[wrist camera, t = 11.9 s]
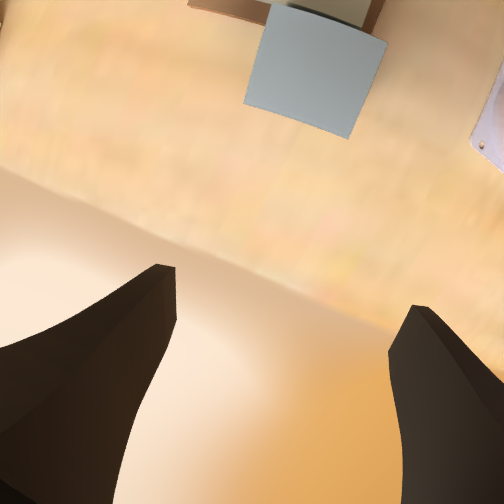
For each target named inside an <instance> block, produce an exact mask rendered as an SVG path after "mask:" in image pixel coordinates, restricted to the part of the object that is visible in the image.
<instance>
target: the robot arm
mask: <svg viewBox="0 0 504 504" xmlns="http://www.w3.org/2000/svg"><path fill="white" fill-rule="evenodd" d="M481 141H483V143H484V147H483V148H482V149H480V148H479V143H480V142H481ZM469 143H470V145H471V146H472V147H473V148H474V149H475V150H476V151H478V152H479V153H480V154H481V155H482V156H484V157H485V158H486V159H487V160H488V161H489V162H491V163H492V164H493V165H494V166H495V167H496V168H498V169H499V170H500V171H501V172H502V173H503V174H504V58H503V60H502V63H501V66H500V69H499V71H498V74H497V76H496V79H495V81H494V84H493V86H492V89H491V91H490V93H489V96H488V98H487V101H486V103H485V105H484V107H483V110H482V112H481V114H480V116H479V118H478V121H477V123H476V125H475V127H474V129H473V131H472V133H471V135H470V138H469ZM176 320H177V316H176V281H175V267H171V266H166V265H160V264H155V265H153V266H152V267H150V268H148V269H147V270H145V271H144V272H142V273H141V274H139V275H138V276H136V277H135V278H133V279H132V280H130V281H129V282H127V283H126V284H124V285H123V286H121V287H120V288H118V289H117V290H115V291H114V292H112V293H111V294H109V295H108V296H106V297H104V298H103V299H101V300H99V301H98V302H96V303H94V304H93V305H91V306H89V307H88V308H86V309H85V310H83V311H81V312H80V313H78V314H76V315H74V316H73V317H71V318H69V319H67V320H65V321H63V322H61V323H59V324H57V325H55V326H53V327H51V328H49V329H47V330H45V331H43V332H41V333H38V334H35V335H33V336H30V337H28V338H26V339H23V340H21V341H18V342H16V343H13V344H10V345H8V346H5V347H2V348H0V504H113V498H114V493H115V488H116V484H117V480H118V475H119V471H120V467H121V463H122V459H123V456H124V452H125V449H126V445H127V442H128V438H129V435H130V432H131V429H132V426H133V423H134V420H135V417H136V414H137V411H138V409H139V407H140V404H141V402H142V400H143V398H144V396H145V393H146V391H147V389H148V387H149V385H150V383H151V381H152V379H153V377H154V374H155V372H156V370H157V368H158V366H159V364H160V362H161V360H162V358H163V356H164V354H165V351H166V349H167V347H168V344H169V341H170V338H171V335H172V332H173V329H174V326H175V323H176ZM388 356H389V370H390V380H391V386H392V390H393V396H394V401H395V406H396V412H397V417H398V423H399V428H400V434H401V442H402V453H403V454H402V455H403V481H402V498H401V504H504V383H503V382H502V381H501V380H499V379H498V378H497V377H496V376H495V375H494V374H493V373H492V372H491V371H490V370H489V369H488V368H487V367H486V366H485V365H484V364H483V363H482V361H481V360H480V359H479V358H478V357H477V356H476V355H475V354H474V353H473V352H472V351H471V350H470V349H469V348H468V347H467V345H466V344H465V343H464V342H463V341H462V340H461V339H460V338H459V337H458V336H457V335H456V334H455V333H454V332H453V330H452V329H451V328H450V327H449V326H448V325H447V324H446V323H445V322H444V321H443V320H442V319H441V318H440V317H439V316H438V315H437V314H436V313H435V312H434V311H432V310H431V309H430V308H429V307H425V306H417V305H412V306H411V308H410V310H409V312H408V314H407V316H406V318H405V320H404V322H403V324H402V326H401V328H400V330H399V332H398V334H397V336H396V338H395V340H394V341H393V344H392V345H391V347H390V349H389V351H388Z"/></svg>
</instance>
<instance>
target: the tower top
mask: <svg viewBox="0 0 504 504" xmlns="http://www.w3.org/2000/svg"><path fill="white" fill-rule="evenodd" d="M256 1H261V2H265V3H269V4H272V3H276V4H280V5H284V6H288V7H291V8H295V9H298V10H302V11H305V12H309V13H312V14H315V15H318V16H321V17H324V18H327V19H330V20H333V21H336V22H339V23H341V24H344V25H347V26H349V27H352V28H354V29H357V30H360V29H361V28H362V25H363V23H364V20H365V17H366V14H367V11H368V9H369V6H370V3H371V0H256Z"/></svg>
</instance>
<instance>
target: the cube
mask: <svg viewBox="0 0 504 504" xmlns="http://www.w3.org/2000/svg"><path fill="white" fill-rule="evenodd" d="M387 45H388V43H387V42H385V41H383V40H381V39H378V38H376V37H374V36H371V35H369V34H367V33H364V32H362V31H359V30H357V29H354V28H352V27H349V26H347V25H344V24H341V23H339V22H336V21H333V20H330V19H327V18H324V17H321V16H318V15H315V14H312V13H309V12H305V11H302V10H298V9H295V8H291V7H288V6H284V5H280V4H276V3H272V5H271V8H270V12H269V15H268V18H267V22H266V25H265V28H264V32H263V35H262V38H261V42H260V45H259V49H258V52H257V56H256V59H255V63H254V66H253V70H252V73H251V77H250V81H249V84H248V88H247V92H246V95H245V99H244V103H243V104H246V105H249V106H253V107H256V108H260V109H263V110H266V111H269V112H273V113H276V114H279V115H282V116H285V117H288V118H291V119H294V120H297V121H300V122H303V123H306V124H308V125H311V126H314V127H317V128H320V129H322V130H325V131H328V132H330V133H333V134H335V135H338V136H341V137H343V138H346V139H349V136H350V134H351V132H352V129H353V127H354V125H355V122H356V120H357V118H358V115H359V113H360V111H361V108H362V106H363V104H364V101H365V99H366V96H367V94H368V92H369V89H370V87H371V84H372V82H373V80H374V77H375V75H376V72H377V70H378V67H379V65H380V62H381V60H382V57H383V55H384V52H385V50H386V47H387Z"/></svg>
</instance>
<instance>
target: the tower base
mask: <svg viewBox="0 0 504 504" xmlns="http://www.w3.org/2000/svg"><path fill="white" fill-rule="evenodd" d="M384 1H385V0H371V3H370V6H369V9H368V11H367V14H366V17H365V20H364V23H363V25H362V28H361V29H360V30H359V31H362V32H364V33H367V34H369V35H371V32H372V30H373V28H374V25H375V23H376V21H377V18H378V16H379V13H380V11H381V9H382V6H383V4H384ZM187 5H188V6H190V7H191V8H196V9H201V10H205V11H210V12H214V13H219V14H223V15H227V16H231V17H235V18H238V19H242V20H245V21H249V22H252V23H256V24H259V25H262V26H265V25H266V22H267V18H268V15H269V12H270V8H271V5H272V4H269V3H265V2H261V1H256V0H189V1H188V4H187Z"/></svg>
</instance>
